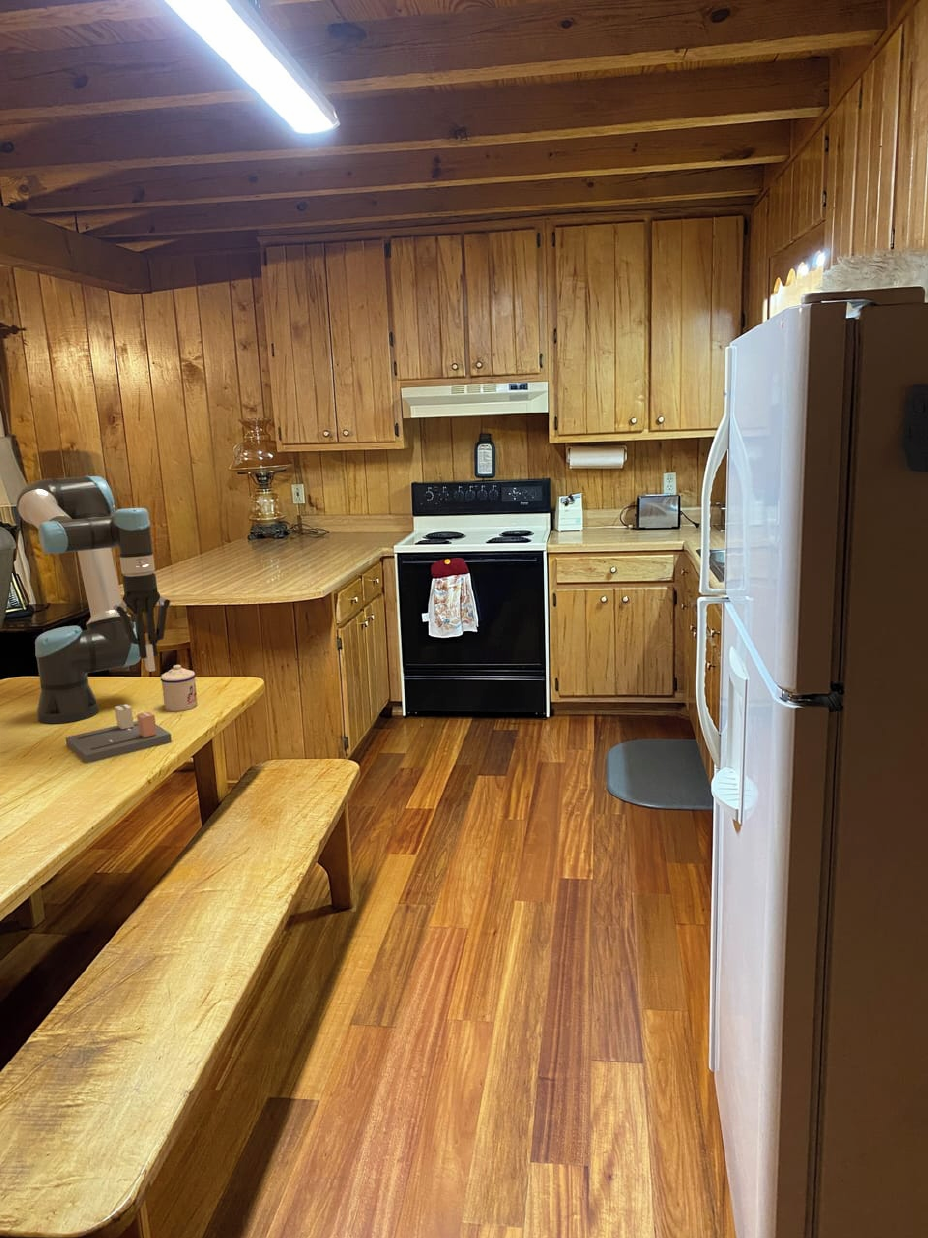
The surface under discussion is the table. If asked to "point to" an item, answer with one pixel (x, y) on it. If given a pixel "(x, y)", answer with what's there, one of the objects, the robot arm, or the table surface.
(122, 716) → the fader
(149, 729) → the fader
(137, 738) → the mixer board
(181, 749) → the table surface
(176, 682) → the teacup with lid
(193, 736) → the table surface
